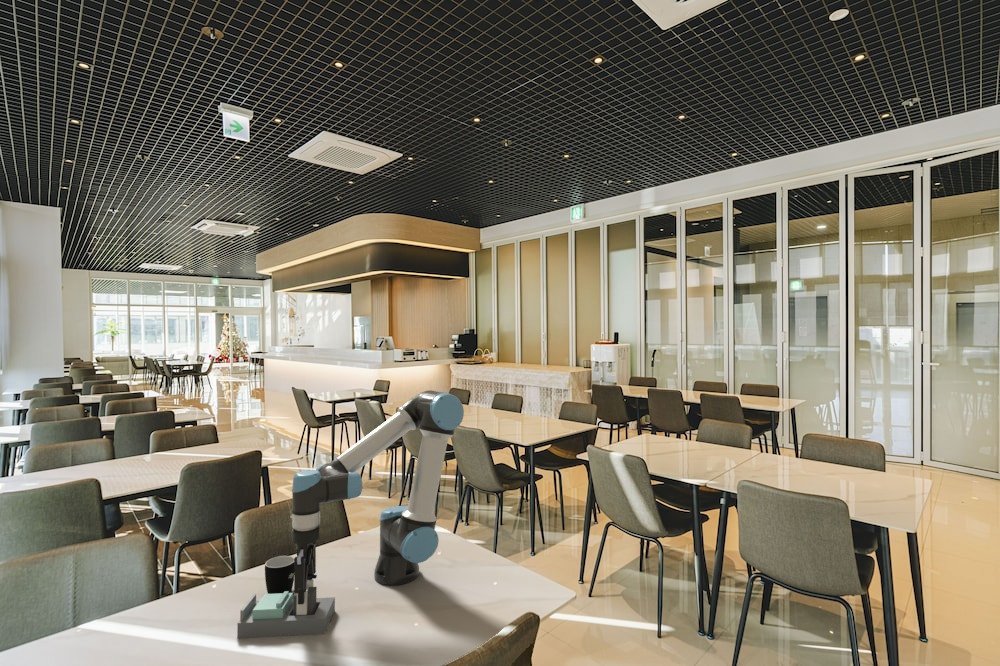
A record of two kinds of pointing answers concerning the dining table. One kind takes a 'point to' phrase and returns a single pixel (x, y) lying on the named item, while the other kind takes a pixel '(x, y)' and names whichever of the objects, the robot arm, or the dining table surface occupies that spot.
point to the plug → (310, 601)
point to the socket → (285, 621)
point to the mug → (279, 574)
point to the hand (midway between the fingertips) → (305, 608)
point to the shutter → (273, 605)
